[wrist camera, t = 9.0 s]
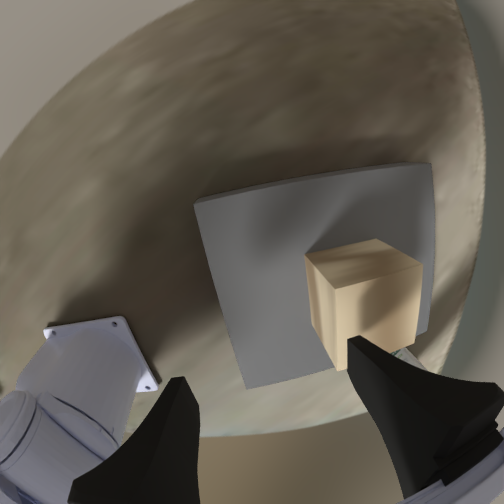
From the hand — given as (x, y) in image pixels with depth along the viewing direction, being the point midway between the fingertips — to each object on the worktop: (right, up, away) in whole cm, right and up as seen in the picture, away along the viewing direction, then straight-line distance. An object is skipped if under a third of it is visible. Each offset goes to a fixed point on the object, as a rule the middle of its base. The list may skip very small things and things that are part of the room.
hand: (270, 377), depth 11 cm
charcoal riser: (+5, +4, +9) cm, 11 cm away
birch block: (+5, +3, +6) cm, 9 cm away
